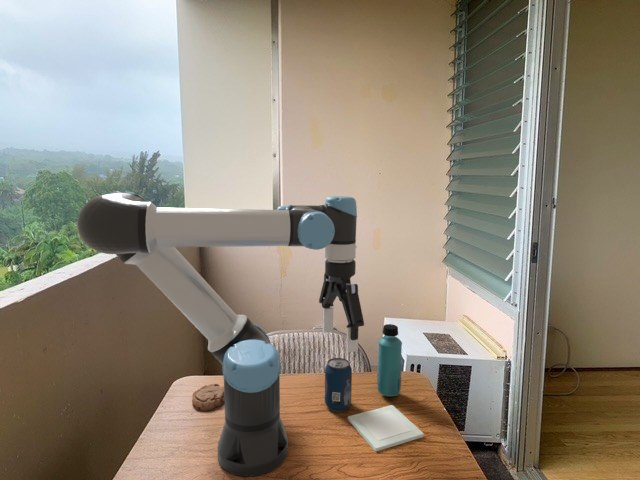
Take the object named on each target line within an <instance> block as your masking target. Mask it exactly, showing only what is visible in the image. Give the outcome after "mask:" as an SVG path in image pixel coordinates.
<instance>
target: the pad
mask: <svg viewBox="0 0 640 480" xmlns="http://www.w3.org/2000/svg"><path fill="white" fill-rule="evenodd" d="M347 421H348V422H349V423H350V424H351V425H352V426H353V427H354V429H355V430H356V431H357V432H358V434H359V435H360V436H361V437H362V438H363V439H364V440H365V441H366V442H367V444H368V445H369V446H370V447H371V449H372V450H373V451H374V452H375V453H376V452H380V451H383V450H386V449H389V448H392V447H395V446H398V445H401V444H406V443H408V442H411V441H415V440H419V439H421V438H424V437H425V434H424V432H423V431H421V429H419V428H418V427H417V426H416V425H415V424H414V423H413V422H411V421H410V420H409V419H408V418H407V417H406V416H405V415H404V414H403V413H402V412H401V411H400V410H399V409H398V408H396V407H395V406H394V405H392V404H391V405H387V406H383V407H379V408H376V409H372V410H367V411H363V412H361V413H360V412H359V413H356V414H352V415H348V416H347Z"/></svg>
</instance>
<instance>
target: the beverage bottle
mask: <svg viewBox="0 0 640 480" xmlns="http://www.w3.org/2000/svg"><path fill="white" fill-rule="evenodd" d="M382 334H383V335H384V336H382V337H380V338H379V340H378V351H377V352H378V353H377V354H378V355H377V357H378V358H377V368H376V369H377V374H376V376H377V382H376V385H377V391H378V393H380V395H382V396H386V397H396V396H398V395H399V394H401V390H402V388H401V387H402V359H403V358H402V350H403V349H402V348H403V347H402V346H403V342H402V341H401V339H400V338H398V337H397V336H399V327H398V326H397V325H395V324H391V323H388V324H384V325H383V326H382Z"/></svg>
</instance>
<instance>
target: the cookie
mask: <svg viewBox="0 0 640 480" xmlns="http://www.w3.org/2000/svg"><path fill="white" fill-rule="evenodd" d="M191 396H192V401H191V402H192V407H194V408H195V409H196V410H197V411H201V412H203V411H211V410H214V409H216V408H217V407H219V406H220V405H222V404H223V403H224V385H223V386H221V385H220V384H219V383H211V384H207V385H203V386H201V387H200V388H199V389H197V390H195V391H194V392H193V393H192V395H191Z"/></svg>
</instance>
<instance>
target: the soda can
mask: <svg viewBox="0 0 640 480" xmlns="http://www.w3.org/2000/svg"><path fill="white" fill-rule="evenodd" d="M350 364H351V363H350V361H349V360H348V359H346V358H342V357H333V358H330V359H329V360H328V361H327V363H326V366H325V367H324V403H325V405H326V407H327V409H329V410H330V411H333V412H337V413H339V412H345V411H346V410H348V409H349V407H350V406H351V405H352V384H353V383H352V382H353V381H352V375H353V368H352V366H351V365H350Z"/></svg>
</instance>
